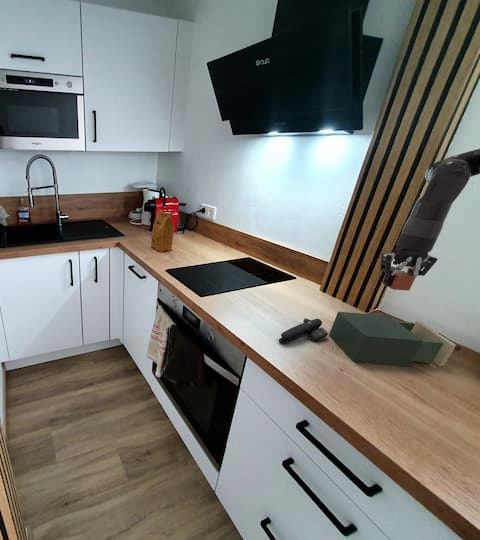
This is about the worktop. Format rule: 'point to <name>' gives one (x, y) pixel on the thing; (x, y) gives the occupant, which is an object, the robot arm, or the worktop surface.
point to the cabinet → (374, 339)
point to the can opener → (304, 331)
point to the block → (402, 281)
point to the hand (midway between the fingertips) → (395, 285)
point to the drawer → (431, 344)
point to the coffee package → (162, 232)
